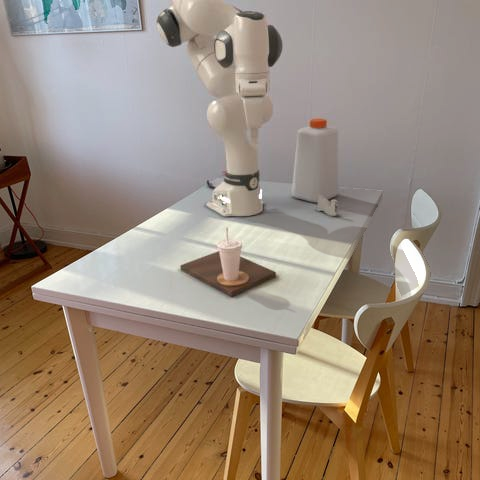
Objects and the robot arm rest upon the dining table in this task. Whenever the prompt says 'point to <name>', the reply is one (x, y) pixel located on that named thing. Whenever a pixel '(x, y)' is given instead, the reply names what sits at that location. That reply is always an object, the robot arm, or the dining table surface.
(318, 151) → the plastic bottle
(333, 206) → the duck shaped cutout
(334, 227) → the dining table surface
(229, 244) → the smoothie
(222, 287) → the serving board
